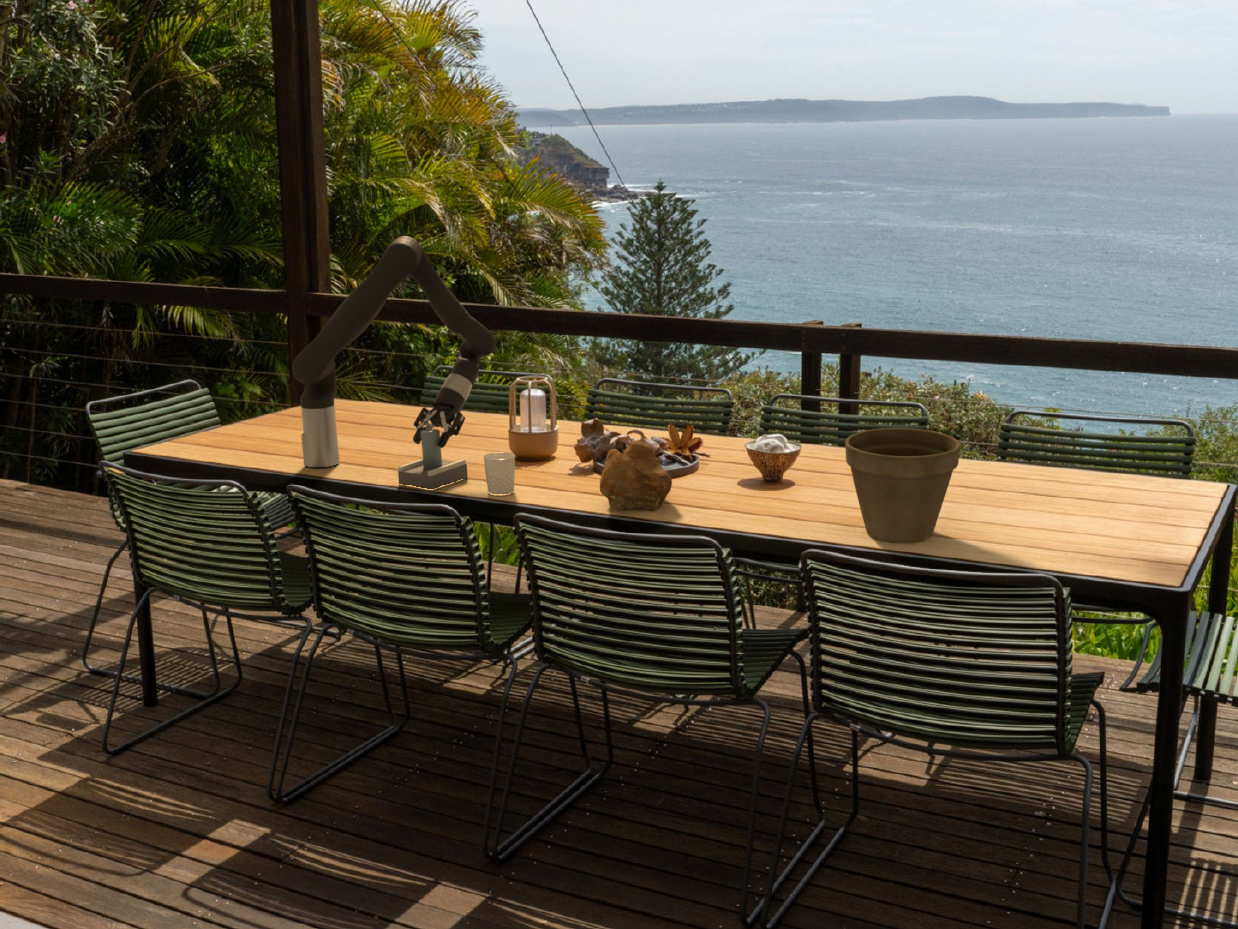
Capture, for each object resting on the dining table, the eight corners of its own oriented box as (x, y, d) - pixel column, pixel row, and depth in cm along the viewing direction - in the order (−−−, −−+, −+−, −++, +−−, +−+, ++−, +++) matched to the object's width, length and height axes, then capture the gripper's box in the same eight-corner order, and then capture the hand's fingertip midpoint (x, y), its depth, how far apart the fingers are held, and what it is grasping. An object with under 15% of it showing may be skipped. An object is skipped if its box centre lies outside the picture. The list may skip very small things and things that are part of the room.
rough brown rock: (653, 525, 283) (658, 464, 279) (589, 512, 289) (593, 453, 285) (685, 501, 304) (690, 444, 300) (625, 490, 310) (629, 434, 306)
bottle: (421, 469, 318) (418, 433, 316) (425, 465, 323) (423, 429, 320) (440, 469, 318) (437, 433, 315) (443, 464, 323) (441, 428, 320)
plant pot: (921, 559, 253) (926, 460, 247) (822, 537, 269) (823, 443, 263) (975, 530, 271) (980, 437, 265) (878, 510, 287) (881, 422, 281)
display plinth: (432, 491, 313) (431, 472, 311) (399, 485, 319) (397, 466, 318) (467, 478, 324) (466, 459, 322) (434, 472, 330) (433, 454, 329)
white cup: (492, 499, 304) (490, 461, 302) (481, 491, 311) (479, 454, 309) (521, 494, 308) (519, 456, 305) (509, 487, 315) (507, 450, 312)
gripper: (426, 384, 325) (400, 434, 319) (466, 388, 317) (440, 439, 311) (440, 399, 330) (415, 448, 324) (480, 404, 323) (455, 455, 317)
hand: (427, 444), depth 318 cm, fingers open, 8 cm apart
